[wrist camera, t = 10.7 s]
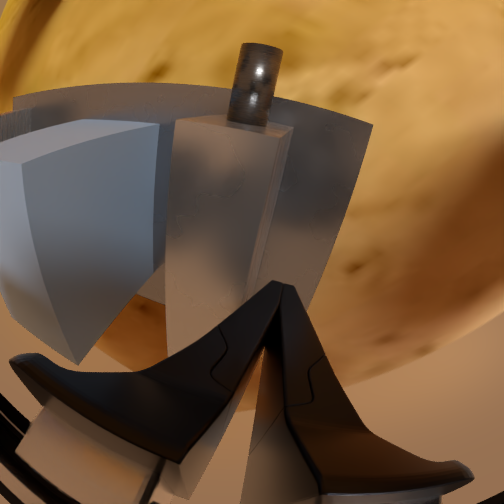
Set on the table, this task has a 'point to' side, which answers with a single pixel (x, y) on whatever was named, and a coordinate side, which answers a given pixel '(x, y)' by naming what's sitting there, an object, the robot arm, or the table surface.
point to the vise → (215, 103)
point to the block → (76, 227)
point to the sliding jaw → (222, 200)
